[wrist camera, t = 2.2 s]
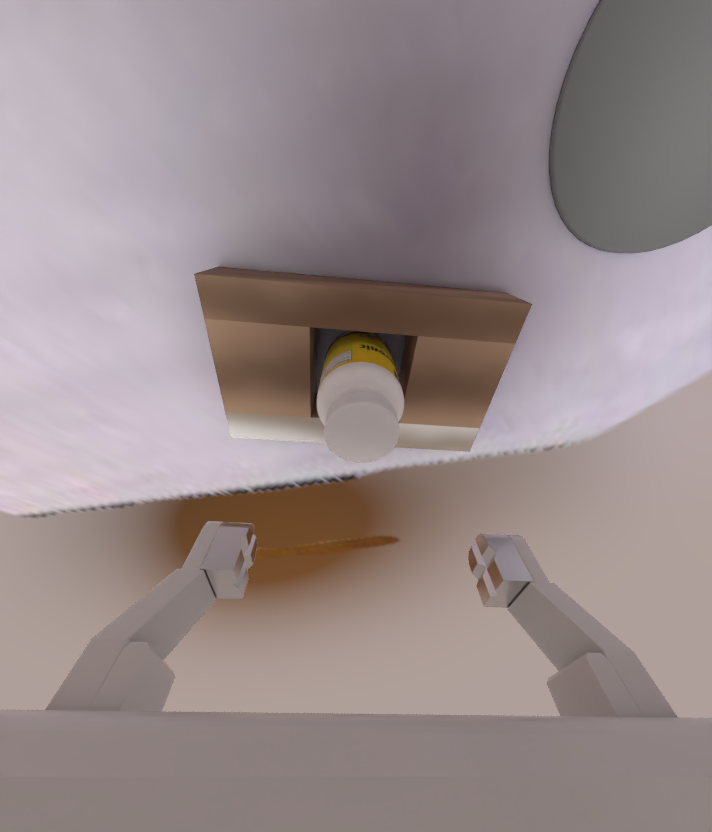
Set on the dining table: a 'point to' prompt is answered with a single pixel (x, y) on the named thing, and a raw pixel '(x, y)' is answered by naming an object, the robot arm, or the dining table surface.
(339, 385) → the supplement bottle
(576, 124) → the slate mat
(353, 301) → the walnut dispenser block
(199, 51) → the dining table surface
